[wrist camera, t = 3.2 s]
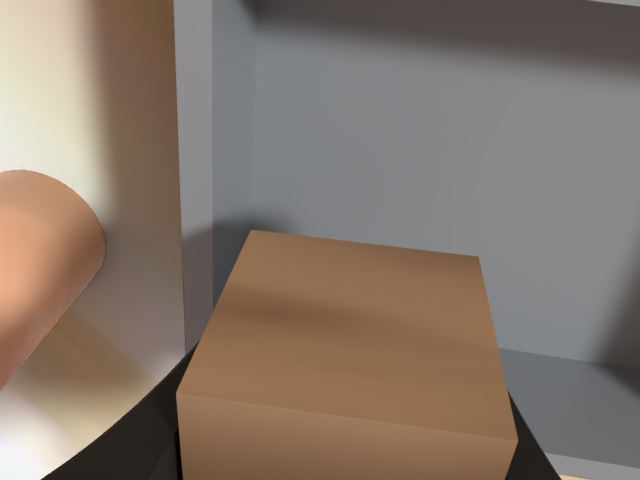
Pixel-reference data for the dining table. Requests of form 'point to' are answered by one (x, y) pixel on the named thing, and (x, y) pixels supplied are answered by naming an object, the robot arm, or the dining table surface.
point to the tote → (438, 173)
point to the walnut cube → (347, 368)
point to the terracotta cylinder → (41, 260)
